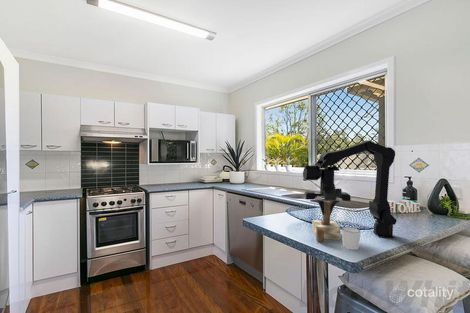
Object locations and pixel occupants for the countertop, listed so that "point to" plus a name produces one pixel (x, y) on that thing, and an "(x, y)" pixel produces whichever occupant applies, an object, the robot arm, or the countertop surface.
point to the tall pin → (326, 212)
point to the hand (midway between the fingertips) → (326, 214)
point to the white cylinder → (351, 238)
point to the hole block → (327, 229)
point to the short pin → (319, 235)
